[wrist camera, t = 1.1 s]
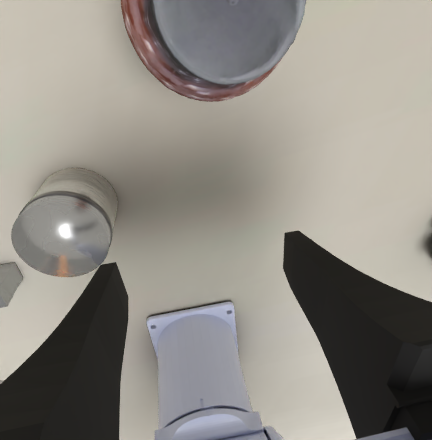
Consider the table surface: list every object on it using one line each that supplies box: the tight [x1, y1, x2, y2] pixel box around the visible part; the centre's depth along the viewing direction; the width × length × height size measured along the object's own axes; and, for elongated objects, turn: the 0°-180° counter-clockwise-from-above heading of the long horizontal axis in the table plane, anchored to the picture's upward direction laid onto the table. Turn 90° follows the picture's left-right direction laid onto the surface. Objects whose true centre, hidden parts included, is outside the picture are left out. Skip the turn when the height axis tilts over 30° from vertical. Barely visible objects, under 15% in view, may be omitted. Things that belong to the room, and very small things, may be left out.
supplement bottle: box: [121, 0, 306, 102], centre depth 12 cm, size 6×6×11 cm
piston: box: [11, 168, 118, 277], centre depth 20 cm, size 5×5×5 cm
